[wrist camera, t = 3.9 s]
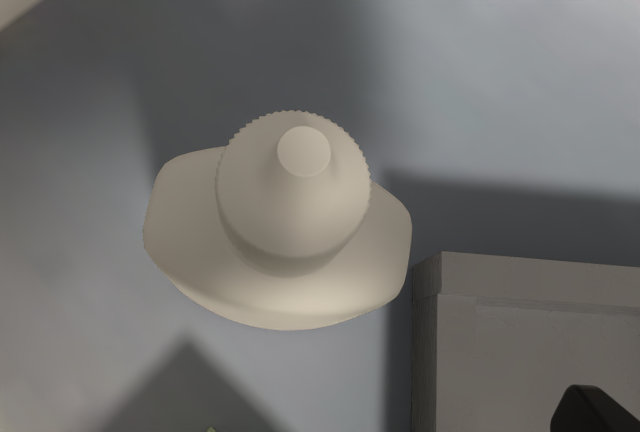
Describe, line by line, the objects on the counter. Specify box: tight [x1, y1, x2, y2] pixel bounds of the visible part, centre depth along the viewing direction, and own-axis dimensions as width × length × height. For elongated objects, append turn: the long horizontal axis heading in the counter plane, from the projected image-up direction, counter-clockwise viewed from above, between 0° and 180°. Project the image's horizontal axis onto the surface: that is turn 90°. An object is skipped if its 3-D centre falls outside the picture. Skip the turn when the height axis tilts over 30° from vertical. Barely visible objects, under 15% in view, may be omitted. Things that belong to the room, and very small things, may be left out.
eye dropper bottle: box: [143, 110, 412, 330], centre depth 13 cm, size 4×6×12 cm
